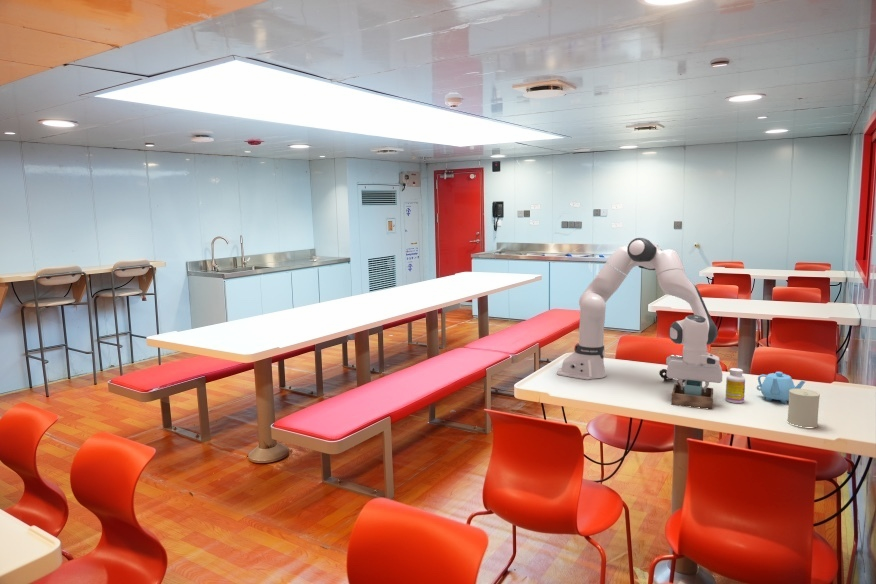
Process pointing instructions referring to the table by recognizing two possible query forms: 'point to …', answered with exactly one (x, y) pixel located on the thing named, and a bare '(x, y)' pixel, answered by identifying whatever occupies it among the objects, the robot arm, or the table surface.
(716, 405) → the table surface
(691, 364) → the robot arm
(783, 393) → the teapot
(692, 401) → the crate
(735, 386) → the supplement bottle
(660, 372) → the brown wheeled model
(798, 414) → the can
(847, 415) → the table surface
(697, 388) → the tote
